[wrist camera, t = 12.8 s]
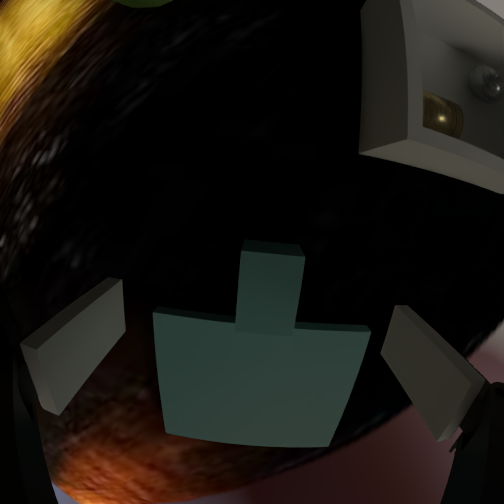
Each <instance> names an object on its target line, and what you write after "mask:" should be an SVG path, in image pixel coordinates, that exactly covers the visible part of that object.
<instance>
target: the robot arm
mask: <svg viewBox="0 0 504 504" xmlns="http://www.w3.org/2000/svg"><path fill="white" fill-rule="evenodd" d="M125 331H126V329H125V319H124V306H123V289H122V280H121V279H115V278H107V279H105V280H104V281H103V282H101V283H100V284H98V285H97V286H95V287H94V288H93V289H91V290H90V291H88V292H87V293H86V294H84V295H83V296H81V297H80V298H79V299H77V300H76V301H75V302H73V303H72V304H70V305H69V306H68V307H66V308H65V309H64V310H62V311H61V312H60V313H58V314H57V315H56V316H53V317H50V318H48V319H45V320H43V321H42V322H41V323H39V324H38V325H37V327H34V328H33V329H31V331H29V332H27V333H26V334H25V335H24V336H22V337H21V338H20V336H19V333H18V329H17V326H16V324H15V321H14V318H13V316H12V313H11V311H10V309H9V307H8V304H7V302H6V300H5V298H4V296H3V294H2V293H1V291H0V504H58V501H57V499H56V496H55V492H54V489H53V486H52V483H51V479H50V476H49V472H48V469H47V465H46V461H45V457H44V453H43V448H42V443H41V438H40V433H39V428H38V422H37V415H36V409H35V406H34V404H33V401H34V400H35V399H36V398H37V397H38V398H39V400H40V403H41V405H42V408H43V409H45V410H47V411H50V412H52V413H54V414H56V415H60V414H61V412H62V411H63V410H64V408H65V407H66V406H67V404H68V403H69V402H70V400H71V399H72V398H73V396H74V395H75V394H76V392H77V391H78V390H79V388H80V387H81V386H82V385H83V383H84V382H85V381H86V379H87V378H88V377H89V376H90V374H91V373H92V372H93V370H94V369H95V368H96V367H97V365H98V364H99V363H100V362H101V360H102V359H103V358H104V357H105V355H106V354H107V353H108V352H109V350H110V349H111V348H112V347H113V345H114V344H115V343H116V342H117V341H118V339H119V338H120V337H121V336H122V334H123V333H124V332H125ZM381 354H382V356H383V357H384V359H385V360H386V362H387V363H388V365H389V367H390V368H391V370H392V371H393V373H394V374H395V376H396V377H397V379H398V380H399V382H400V383H401V385H402V386H403V388H404V390H405V391H406V393H407V394H408V396H409V397H410V399H411V401H412V402H413V404H414V405H415V407H416V409H417V410H418V412H419V413H420V415H421V417H422V418H423V420H424V421H425V423H426V425H427V426H428V428H429V430H430V431H431V433H432V435H433V436H434V438H435V440H436V441H437V442H438V441H442V440H445V439H449V438H451V437H452V436H453V434H454V433H455V432H456V430H457V428H458V427H459V426H460V428H461V429H462V431H463V432H462V433H461V435H460V436H459V438H458V439H457V440H456V442H455V443H454V445H453V446H452V447H451V449H450V451H449V452H450V453H451V452H452V451H453V449H455V448H456V452H455V456H454V460H453V464H452V468H451V472H450V475H449V479H448V482H447V485H446V488H445V491H444V495H443V498H442V500H441V503H440V504H504V383H501V382H494V383H492V384H490V383H489V382H488V381H487V379H486V378H485V377H484V376H483V375H482V374H480V372H479V371H478V370H477V369H475V368H474V366H473V365H472V364H470V363H469V361H468V360H467V359H466V358H465V357H463V356H462V355H461V354H459V353H458V352H457V351H456V350H455V349H454V348H453V347H452V346H451V345H450V344H449V343H447V342H446V341H445V340H444V339H443V338H442V337H441V336H440V335H439V334H438V333H437V332H436V331H435V330H434V329H433V328H431V327H430V326H429V325H428V324H427V323H426V322H425V321H424V320H423V319H422V318H421V317H419V316H418V315H417V314H416V313H415V312H414V311H413V310H412V309H411V308H409V307H408V306H398V305H395V308H394V311H393V315H392V318H391V322H390V325H389V329H388V332H387V335H386V338H385V342H384V345H383V348H382V351H381Z"/></svg>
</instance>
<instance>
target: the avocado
mask: <svg viewBox="0 0 504 504" xmlns="http://www.w3.org/2000/svg"><path fill="white" fill-rule="evenodd" d="M112 1H115V2H118V3H120V4H123V5H126V6H129V7H132V8H146V7H158V6H162V5H164V4H166V3H168V2H170V1H172V0H112Z"/></svg>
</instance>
